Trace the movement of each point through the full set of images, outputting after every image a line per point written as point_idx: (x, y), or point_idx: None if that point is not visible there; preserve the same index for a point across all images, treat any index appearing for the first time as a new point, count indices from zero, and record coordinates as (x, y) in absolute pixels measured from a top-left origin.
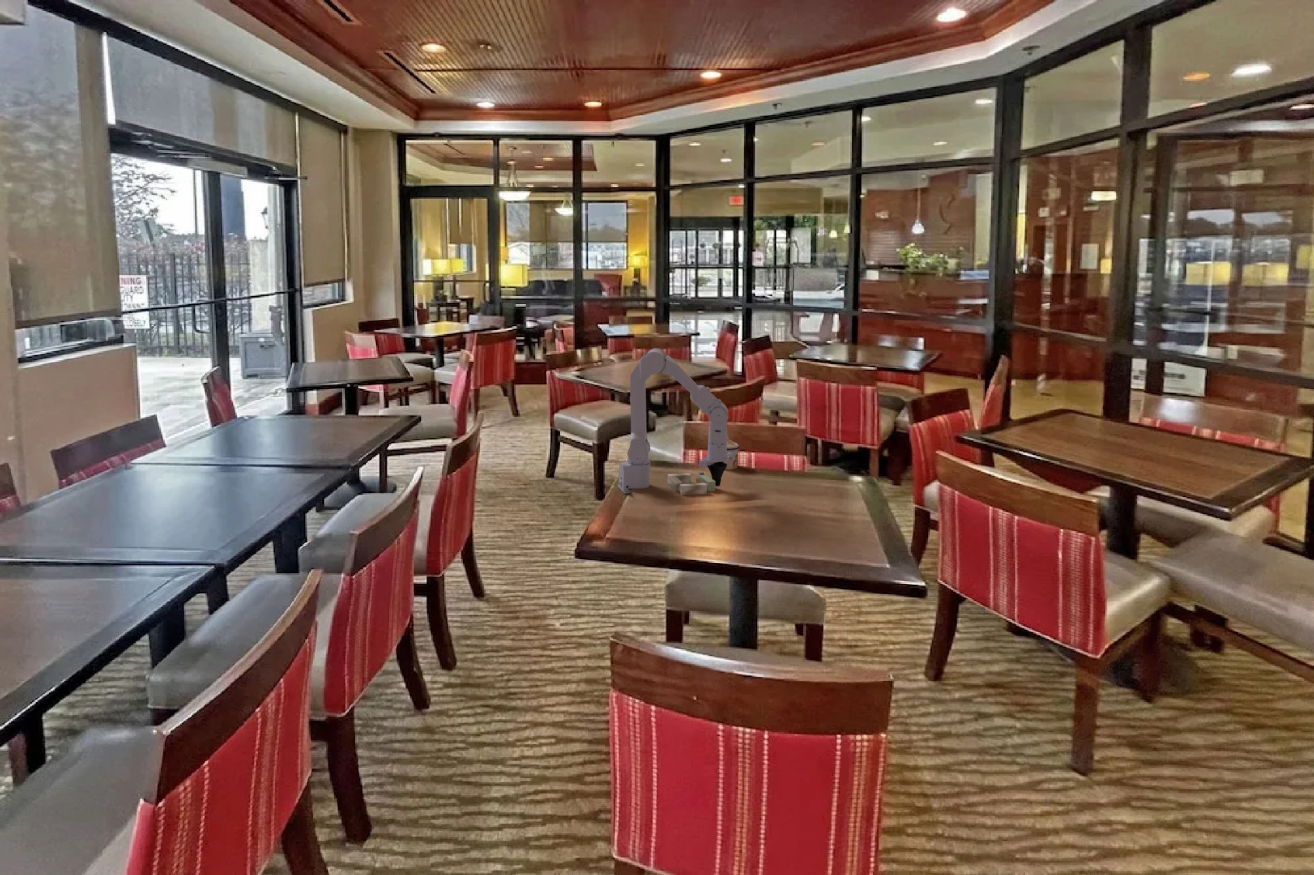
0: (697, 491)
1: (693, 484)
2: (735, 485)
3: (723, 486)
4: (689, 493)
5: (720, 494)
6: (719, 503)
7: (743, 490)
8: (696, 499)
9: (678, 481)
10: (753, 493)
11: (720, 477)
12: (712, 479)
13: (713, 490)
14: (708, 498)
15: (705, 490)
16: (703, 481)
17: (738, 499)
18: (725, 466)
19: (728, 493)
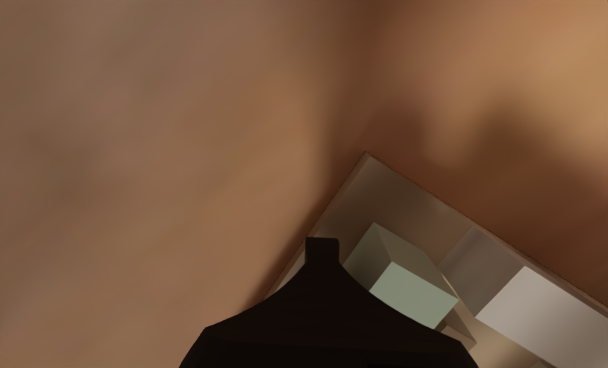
0: (552, 278)
1: (597, 354)
2: (75, 248)
3: (154, 286)
4: (593, 303)
5: (313, 199)
6: (520, 66)
7: (112, 144)
8: (530, 243)
9: None
10: (105, 42)
11: (322, 267)
12: None
13: (385, 230)
14: (455, 201)
15: (501, 245)
16: None
17: (323, 24)
18: (265, 335)
19: (252, 175)
